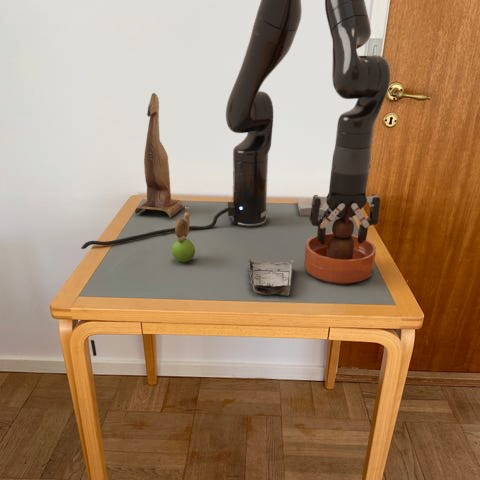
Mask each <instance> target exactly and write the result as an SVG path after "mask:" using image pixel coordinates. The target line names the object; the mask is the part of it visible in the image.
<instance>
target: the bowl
mask: <svg viewBox="0 0 480 480" xmlns="http://www.w3.org/2000/svg"><path fill="white" fill-rule="evenodd" d="M333 235H334V234H333V232H328V233H326V234H325V243H324V244H320V242H319V241H318V239H317V235H313V236H312V237H310V238H309V239H308V240H307V241H306V242H305V250H304V262H303V267H304V269H305V271H306V272H307V273H308V274H309V275H311V276H313V277H314V278H315V279H317V280H319V281H320V280H321V281H322V282H326V283H330V284H339V285H348V284H355V283H359V282H361V281H364V280H367V279H368V278H369V277H371V275H372V274H373V271H374V266H375V260H376V254H377V247H376V246H375V244H374V243H373V242H372V241H370V240H368V239H366V240H365V241H363V244H359V242H358V235H355V234H352V236H351V237H352V239H353V241H354V252H353V257H352V260H342V259H333V258H328V257H327V247H328V242H329V240H330V238H331V237H332V236H333Z"/></svg>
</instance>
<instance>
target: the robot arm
mask: <svg viewBox="0 0 480 480" xmlns="http://www.w3.org/2000/svg"><path fill="white" fill-rule="evenodd" d="M302 9H303V8H302V0H260V3H259V6H258V8H257V12H256V15H255V19H254V22H253V25H252V29H251V30H252V31H251V34H250V37H249V41H248V45H247V48H246V50H245V53H244V57H243V60H242V63H241V66H240V69H239V72H238V74H237V76H236V79H235V81H234V84H233V87H232V89H231V91H230V93H229V96H228V100H227V103H226V106H225V107H226V108H225V121H226V125H227V128H228V129H229V130H230V131H231V132H232V133H235V134H246V136H245V138H244V139H243V140H241V142H239V143H238V144H236V145H235V146H234V147H233V150H232V201H227V207H226V208H224V209H222V210H220V211H218V213H216V214H215V215H214V217H213V220H212V222H211V223H209V224H208V225H204V226H203V225H202V226H199V225H189V231H190V230H193V231H201V230H202V231H203V230H209V229H212V228H213V227H215V225H216V224H217V221H218V219H219V218H220V217H221V216H222V215H225V213H227V217H232V224H233V226H240V227H246V228H254V227H255V228H256V227H260V226H262V225H265V224H266V223H267V215H268V212H269V210H268V209H267V199H268V197H267V196H268V195H267V194H268V170H269V169H268V168H269V153H270V151H271V146H272V137H273V127H274V105H273V101H272V98H271V96H270V95H269V94H268V93H267V92H265V91H263V90H262V91H261V90H260V89H261V87H262V85H263V83H264V82H265V80H266V79H267V78H268V77H269V76H270V75H271V73H272V72H273V71H274V70H275V69H276V68H277V67H278V65H280V63H281V62H282V61H283V60H284V58H285V57H286V55H287V54H288V53H289V52H290V49H291V47H292V45H293V43H294V41H295V37H296V35H297V32H298V29H299V26H300V24H301V23H300V22H301V19H302V11H303V10H302ZM324 11H325V17H326V20H327V26H328V29H329V33H330V37H331V40H332V41H331V43H332V53H331V54H332V57H331V58H332V61H331V63H332V64H331V65H332V66H331V82H332V86H333V89H334V91H335V92H336V94H337V95H338V97H340V98H342V99H344V100H356V102H355V104H354V106H353V107H352V108H351V109H350V110H348V111H347V110H346V111H344V112H343V113H341V114H340V115H339V117H338V120H337V125H336V134H335V141H334V142H335V143H334V148H333V152H332V159H331V168H330V177H329V187H328V193H327V195H326V196H319V195H317V194H314V195H313V196H312V199H313V201H312V200H311V201H312V208H311V214H310V215H309V221H310V223H311V226H313V227H317V234H316V236H317V239H318V241H319V242H320V244H324V243H325V234H327V233H326V232H327V226H328V225H329V223H331V222H332V221H333V220H335V218H337V219H339V218H342V217H345V216H346V212H347V209H348V206H349V205H350V213H349V219H350V218H351V219H352V218H353V217H355V216H356V217H357V219H358V221H359V222H360V224H359V226H358V231H357V236H358V242H359V244H363V241H365V240H367V239H368V237H367V236H368V230H369V227H370V226H376V225H378V223H379V216H380V207H381V206H380V205H381V198H380V197H379V196H378V195H377V194H376V193H373V194H372V195H370V196H367V195H366V193H367V188H368V180H369V175H370V168H371V165H372V164H371V161H372V144H373V137H374V131H375V124H376V121H377V119H378V117H379V114H380V112H381V109H382V107H383V105H384V101H385V100H386V96H387V94H388V91H389V89H390V86H391V85H390V84H391V79H392V78H391V75H392V74H391V66H390V64H389V62H388V60H387V59H386V58H385V57H384V56H382V55H377V54H375V55H374V54H373V55H359V54H358V49H360V48H362V47H363V46H365V45H366V44H367V42H368V41H369V40H370V38H371V34H372V27H371V23H370V18H369V15H368V9H367V6H366V1H365V0H324ZM324 203H325V204H327V205H328V209H327V210H326V211H325V212H324V214H323V216H321V217H320V216H319V210H320V208H321V207H322V206H323V204H324ZM366 204H367V205H368V206H369V217H367V218H366V216H365V214H363V212H362V209H363V207H364V206H365V205H366ZM319 217H320V218H319ZM173 232H175V227H172V228H171V227H170V228H166V229H165V228H164V229H159V230H154V231H149V232H146V233H142V234H137V235H132V236H128V237H124V238H119V239H113V240H107V241H100V240H89V241H86V242H85V243H84V244H83V245H82V246H81V247H80V249H82V250H85V249H87V248H88V247H89V246H92V245H97V246H112V245H117V244H121V243H126V242H130V241H135V240H139V239H143V238H144V239H145V238H148V237H152V236H157V235H162V234H167V233H173ZM90 345H91V350H92V351H91V352H92V356H93V357H96V356H97V349H96V343H95V340H94V339H90Z"/></svg>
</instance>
